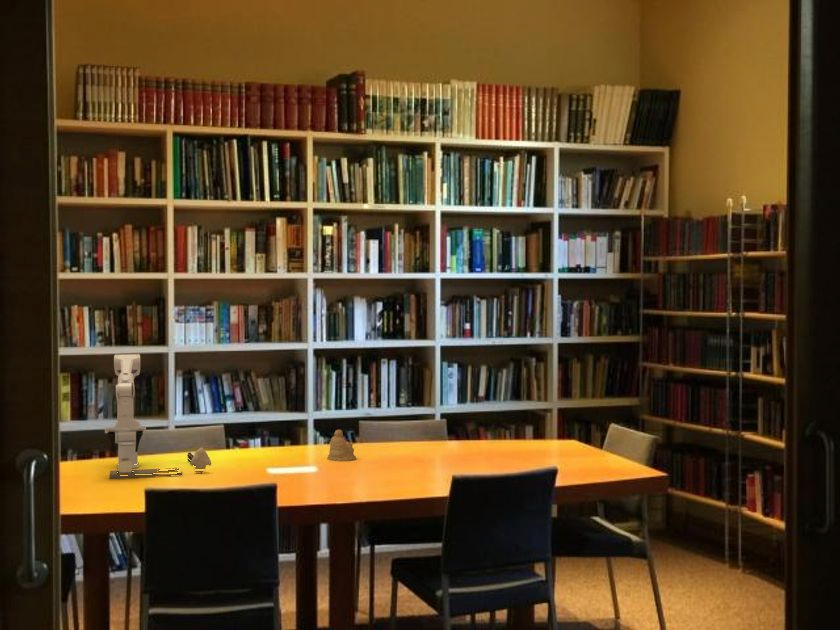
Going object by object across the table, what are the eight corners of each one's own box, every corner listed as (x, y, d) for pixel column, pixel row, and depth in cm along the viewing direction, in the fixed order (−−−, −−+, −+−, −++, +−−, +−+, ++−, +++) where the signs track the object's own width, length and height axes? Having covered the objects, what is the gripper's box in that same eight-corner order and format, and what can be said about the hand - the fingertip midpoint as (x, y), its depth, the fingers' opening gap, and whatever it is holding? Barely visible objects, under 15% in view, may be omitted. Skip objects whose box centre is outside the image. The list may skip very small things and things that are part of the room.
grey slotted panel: (110, 474, 400) (110, 470, 400) (181, 472, 406) (181, 467, 406) (109, 478, 392) (109, 474, 392) (182, 475, 398) (182, 471, 398)
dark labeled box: (206, 459, 436) (206, 449, 436) (217, 470, 413) (217, 459, 413) (170, 462, 431) (170, 451, 431) (180, 472, 408) (179, 461, 407)
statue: (316, 434, 432) (331, 424, 440) (323, 466, 436) (337, 455, 444) (340, 437, 425) (354, 427, 433) (346, 469, 429) (361, 458, 437)
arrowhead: (190, 474, 402) (189, 447, 401) (189, 473, 404) (189, 446, 404) (211, 473, 404) (211, 447, 403) (211, 472, 406) (211, 446, 406)
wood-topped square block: (119, 473, 399) (119, 457, 399) (131, 473, 400) (131, 457, 400) (118, 476, 395) (118, 459, 394) (131, 475, 396) (131, 459, 395)
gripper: (104, 417, 387) (104, 454, 387) (145, 416, 390) (145, 453, 391) (105, 414, 393) (105, 451, 394) (145, 413, 397) (146, 449, 398)
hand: (125, 452), depth 393 cm, fingers open, 7 cm apart
